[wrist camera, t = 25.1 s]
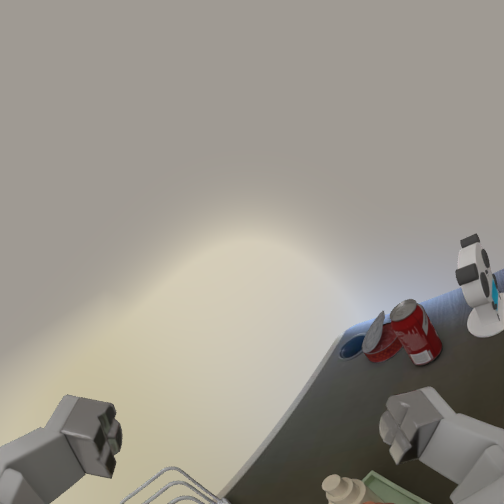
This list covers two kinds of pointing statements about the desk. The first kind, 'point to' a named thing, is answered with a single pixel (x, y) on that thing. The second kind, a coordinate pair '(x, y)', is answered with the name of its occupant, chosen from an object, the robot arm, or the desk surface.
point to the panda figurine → (480, 289)
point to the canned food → (380, 341)
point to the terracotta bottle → (371, 503)
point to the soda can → (415, 332)
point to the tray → (390, 490)
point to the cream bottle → (348, 491)
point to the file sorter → (221, 503)
